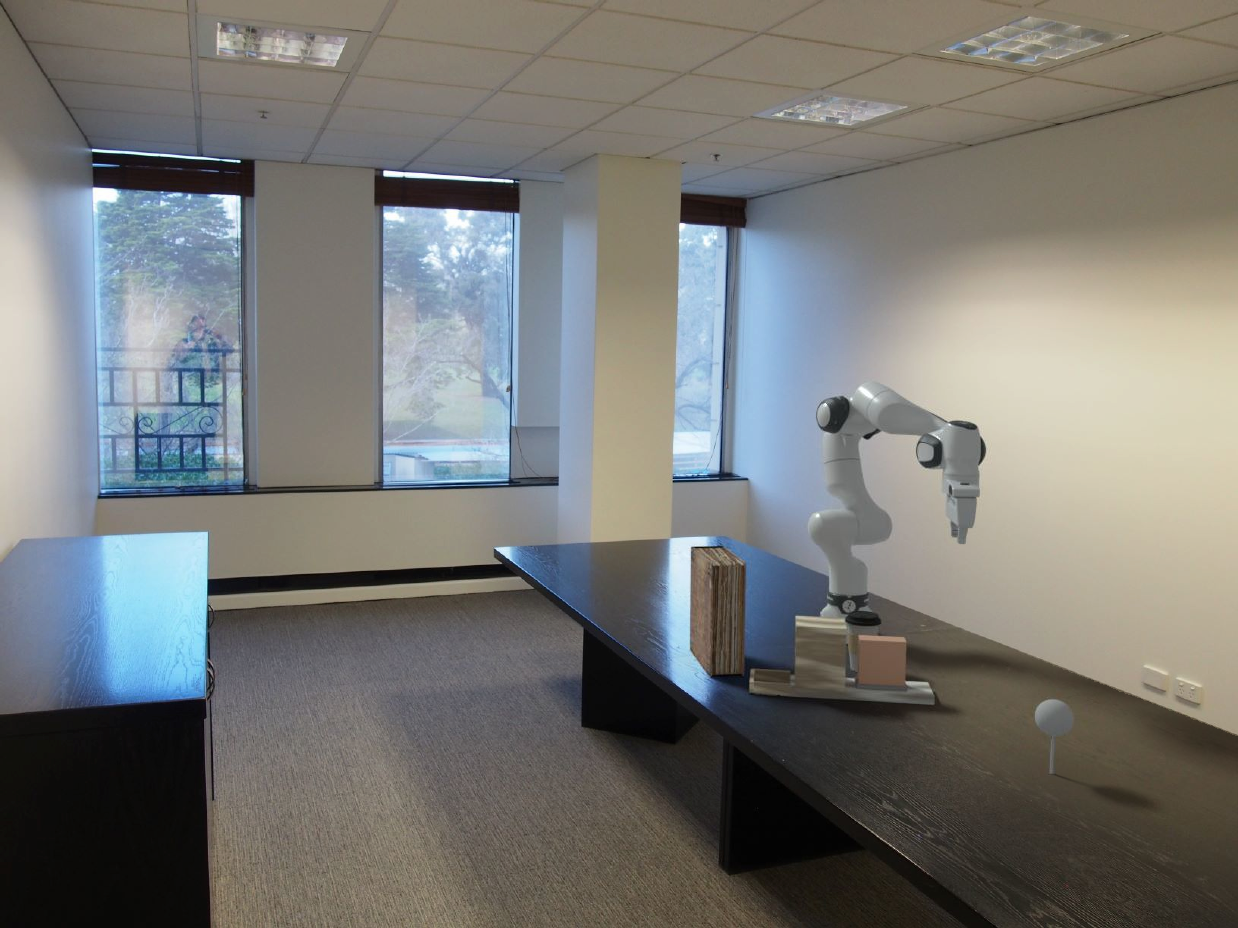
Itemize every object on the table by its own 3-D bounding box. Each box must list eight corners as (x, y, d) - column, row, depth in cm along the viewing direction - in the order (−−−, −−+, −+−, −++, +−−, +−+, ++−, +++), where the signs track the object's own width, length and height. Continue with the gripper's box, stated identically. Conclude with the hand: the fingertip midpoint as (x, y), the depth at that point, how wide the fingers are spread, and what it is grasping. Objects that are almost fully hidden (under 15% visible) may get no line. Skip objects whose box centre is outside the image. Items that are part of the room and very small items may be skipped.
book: (744, 676, 257) (746, 563, 254) (709, 677, 256) (711, 563, 253) (721, 648, 282) (722, 545, 279) (689, 649, 281) (690, 546, 278)
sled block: (854, 680, 247) (856, 633, 246) (904, 683, 245) (905, 636, 244) (856, 688, 241) (858, 640, 240) (907, 691, 239) (909, 643, 238)
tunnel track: (750, 679, 254) (752, 613, 252) (927, 689, 247) (930, 621, 245) (749, 693, 243) (750, 624, 242) (934, 704, 236) (937, 633, 234)
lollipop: (1060, 765, 200) (1064, 694, 199) (1077, 780, 193) (1081, 706, 192) (1026, 766, 200) (1029, 694, 199) (1042, 780, 193) (1045, 706, 192)
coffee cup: (854, 675, 258) (856, 619, 256) (837, 665, 267) (838, 611, 265) (886, 673, 260) (888, 617, 259) (868, 662, 269) (870, 608, 268)
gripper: (940, 480, 258) (938, 532, 259) (954, 490, 238) (951, 547, 239) (965, 481, 257) (963, 533, 258) (981, 491, 237) (978, 547, 238)
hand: (958, 540), depth 249 cm, fingers open, 8 cm apart
